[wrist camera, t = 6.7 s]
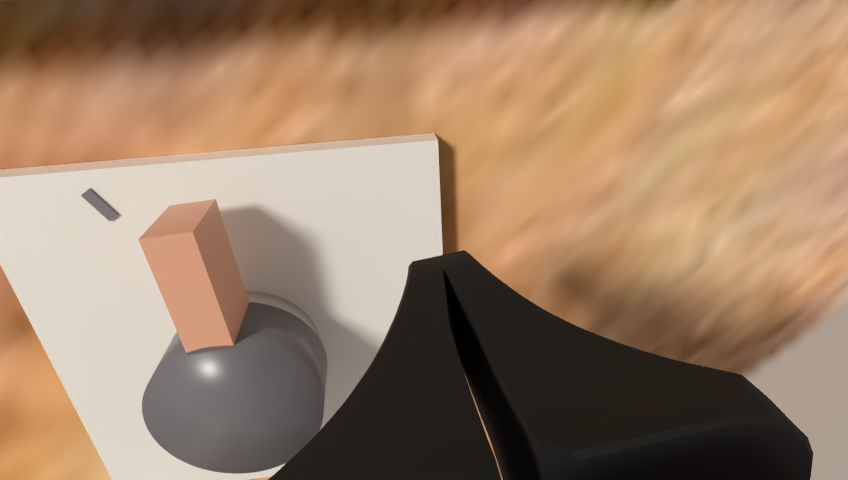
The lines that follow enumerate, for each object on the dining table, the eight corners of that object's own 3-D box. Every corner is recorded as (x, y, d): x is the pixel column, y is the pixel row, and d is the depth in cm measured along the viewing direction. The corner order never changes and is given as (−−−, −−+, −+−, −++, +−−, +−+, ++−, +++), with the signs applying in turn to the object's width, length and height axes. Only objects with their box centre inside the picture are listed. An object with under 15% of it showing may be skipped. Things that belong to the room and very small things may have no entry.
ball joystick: (340, 408, 21) (337, 458, 18) (196, 432, 20) (176, 485, 18) (284, 189, 16) (272, 220, 14) (98, 215, 16) (55, 251, 13)
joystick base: (434, 133, 18) (442, 147, 16) (447, 435, 25) (454, 468, 24) (-22, 171, 17) (-67, 191, 15) (129, 478, 24) (111, 516, 22)
